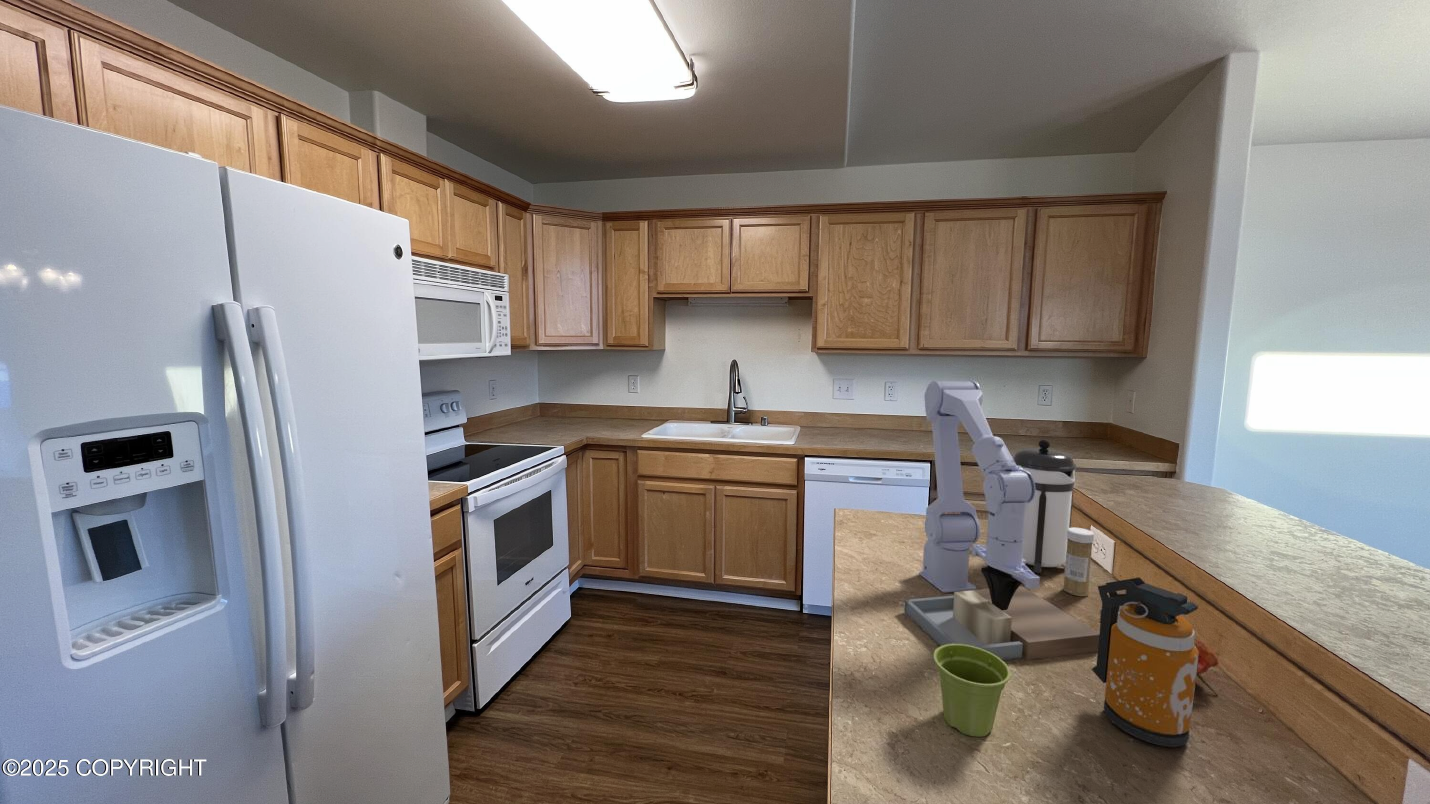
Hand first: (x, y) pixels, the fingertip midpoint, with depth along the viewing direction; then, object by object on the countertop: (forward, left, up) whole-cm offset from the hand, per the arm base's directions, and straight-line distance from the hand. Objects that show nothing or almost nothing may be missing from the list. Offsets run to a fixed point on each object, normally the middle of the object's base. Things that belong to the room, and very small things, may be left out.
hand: (1000, 608), depth 95 cm
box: (0, -8, -4) cm, 9 cm away
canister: (+24, +2, -4) cm, 24 cm away
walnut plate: (0, +5, -4) cm, 7 cm away
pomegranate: (+18, +18, -4) cm, 26 cm away
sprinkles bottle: (-10, +26, -4) cm, 28 cm away
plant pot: (+20, -21, -4) cm, 29 cm away
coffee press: (-25, +28, -4) cm, 38 cm away
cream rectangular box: (0, -2, -1) cm, 2 cm away
